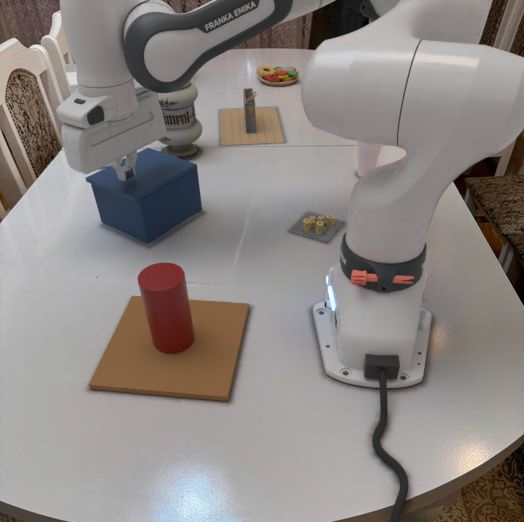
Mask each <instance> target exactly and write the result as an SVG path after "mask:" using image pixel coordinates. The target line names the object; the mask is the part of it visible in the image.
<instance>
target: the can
mask: <svg viewBox="0 0 524 522" xmlns="http://www.w3.org/2000/svg"><path fill="white" fill-rule="evenodd" d="M137 284H138V289H139V293H140V296H142V300H143V304H144V308H145V312H146V317H147V321H148V325H149V329H150V333H151V337H152V341H153V345H154V347H155V348H156V349H157V350H159V351H160V352H163V353H167V354H175V353H180V352H182V351H185V350H186V349H188V348H189V347H190V346H191V345H192V344H193V342H194V339H195V335H194V329H193V322H192V316H191V310H190V304H189V300H190V298H189V294H188V287H187V280H186V274H185V270H184V268H182V267H181V266H180V265H178V264H176V263H174V262H166V261H165V262H157V263H153V264H151V265H148V266H146V267H144V268H143V269H141V270H140V272H139V274H138V275H137Z"/></svg>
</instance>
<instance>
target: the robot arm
mask: <svg viewBox="0 0 524 522" xmlns="http://www.w3.org/2000/svg"><path fill="white" fill-rule="evenodd" d="M335 1H336V0H211V1H208V2H207V3H204V4H203V5H201V6H199V7H197V8H194V9H192V10H191V11H188V12H187V11H186V12H183V13H176V11H175V10H174V9H173V7H171V5H169V4H168V3H167V2H165V1H163V0H59V10H60V16H61V17H60V18H61V23H62V27H63V33H64V36H65V40H66V44H67V48H68V51H69V54H70V56H71V58H72V59H73V62H74V64H75V65H76V72H77V75H76V78H77V83H78V88H77V89H76V90H75V91H74V92H73V93H71V95H69V96H68V97H67V98H66V99H65V100H64V101H63V102H62V103H60V104H59V106H57V108H56V115H57V118H58V120H59V121H61V122H63V124H62V127H61V131H60V136H61V142H62V145H63V149H64V150H63V151H64V154H65V158H66V161H67V163H68V166H69V167H70V168H71V169H72V170H73V171H75V172H77V173H79V174H83V175H89V174H91V173H93V172H95V171H97V170H99V169H102V168H101V167H103V166H105V165H107V164H110V165H111V166H112V167H113V168H114V169H115V170H116V172H117V176H118V179H119V180H121V181H125V180H127V179H129V178H131V177H133V176H135V175H136V172H135V167H134V166H135V164H136V160H137V153H138V150H140V149H142V148H144V147H147V146H148V145H151V144H152V143H155V142H156V141H158V140H159V139H161V138H163V137H164V136H165V132H166V126H165V121H164V117H163V113H162V110H161V107H160V104H159V102H158V96H157V93H171V92H174V91H177V90H179V89H180V88H182V87H183V86H184V85H186V84H187V83H188V82H189V81H191V80H192V78H194V76H195V75H196V74H197V73H198V71H199V70H200V69H201V68H202V67H203V66H205V65H206V64H207V63H208V62H210V61H212V60H213V59H215V58H217V57H218V56H220V55H222V54H224V53H226V52H228V51H230V50H232V49H234V48H235V47H238V46H239V45H242V44H244V43H246V42H248V41H249V40H251V39H253V38H255V37H257V36H260V35H261V34H263V33H264V32H266V31H267V30H269V29H272V28H274V27H277V26H279V25H282V24H284V23H286V22H289V21H293V20H294V19H297V18H300V17H302V16H305V15H307V14H308V15H309V14H310V13H312V12H315V11H316V10H319V9H321V8H323V7H326V6H327V5H329V4H331V3H333V2H335ZM492 4H493V0H363V1H362V2H361V4H360V6H359V12H360V14H361V16H363V17H365V18H368V19H369V22H370V23H368V24H366V25H364V26H362V27H361V28H358V29H357V30H354V31H351V32H349V33H346V34H343V35H340V36H337V37H332V38H328V39H324V40H323V41H322V42H321V43H320V44H319V45H318V46H317V47H316V49H315V50H314V51H313V52H312V53H311V55H310V57H309V58H308V60H307V63H306V65H305V66H304V67H305V68H304V70H303V74H302V77H301V83H300V96H301V97H300V98H301V103H302V108H303V111H304V114H305V116H306V118H307V120H308V122H309V123H310V124H311V126H312V127H313V128H315V129H318V130H321V131H323V132H326V133H328V134H330V135H334V136H336V137H339V138H342V139H344V140H348V141H353V142H354V141H355V142H357V141H361V142H368V143H375V144H382V146H388V147H389V146H391V147H396V148H400V149H403V150H404V152H405V155H404V156H403V157H401V158H399V159H397V160H395V161H392V162H389V163H387V164H383V165H380V166H376V168H375V169H373V170H371V171H369V172H367V173H366V174H364V175H363V176H362V177H359V179H357V181H356V182H355V184H354V185H353V187H352V189H351V192H350V194H349V195H350V196H349V204H348V212H347V222H346V230H345V232H344V233H343V236H342V239H341V242H340V249H339V253H340V254H339V260H338V261H337V262H336V263H335V264H333V265H332V266H331V267H330V268H329V269H328V275H326V280H325V281H326V291H325V299H324V300H322V301H321V300H320V301H319V302H316V303H315V304H314V305H313V308H312V316H313V322H314V325H315V330H316V331H315V332H316V336H317V341H318V346H319V349H320V354H321V355H320V356H321V360H322V363H323V368H324V371H325V374H326V375H327V376H329V377H330V378H332V379H335V380H337V381H340V382H343V383H344V384H350V385H353V386H359V387H364V388H365V387H367V388H374V389H375V388H377V389H379V403H380V404H379V408H380V409H379V410H380V411H379V420H378V423H377V426H376V427H375V430H374V431H373V434H372V438H371V441H372V448H373V450H374V452H375V453H376V454H377V456H378V457H379V458H380V459H381V460H382V461H384V462H385V463H386V464H387V465H389V467H391V468H392V469H393V470H394V472H396V474H397V477H398V480H399V490H398V492H397V493H398V494H397V495H396V498H395V501H394V503H393V508H392V511H391V515H390V520H389V521H390V522H400V519H401V515H402V512H403V508H404V506H405V503H406V500H407V497H408V492H409V479H408V475H407V472H406V470H405V469H404V467H403V466H402V464H401V463H400V462H398V460H397V459H395V458H394V457H392V456H391V455H390V454H389V453H388V452H387V451H385V449H384V448H383V446H382V444H381V437H382V434H383V433H384V431H385V429H386V426H387V423H388V416H389V415H388V414H389V411H388V410H389V406H388V405H389V403H388V389H400V388H406V387H411V386H414V385H417V384H419V383H421V382H422V381H423V379H424V374H425V373H424V372H425V367H426V360H427V359H426V358H427V353H428V345H429V338H430V332H431V324H432V313H431V312H430V311H429V310H427V309H426V308H424V307H422V303H429V302H430V298H431V293H430V292H429V293H428V292H425V288H426V284H427V281H428V277H429V274H428V273H427V272H426V271H425V270H424V267H425V265H426V260H427V250H428V244H427V238H428V235H429V231H430V230H429V229H430V228H431V225H432V221H433V218H434V216H435V212H436V210H437V207H438V204H439V202H440V201H441V198H442V197H443V195H444V193H445V192H446V190H447V189H448V188H449V187H450V186H451V184H452V183H453V182H454V181H455V180H456V179H457V178H458V177H459V176H460V175H462V174H463V173H464V172H465V171H467V170H468V169H469V168H471V167H473V166H474V165H476V164H477V163H479V162H481V161H483V160H485V159H488V158H489V157H491V156H493V155H496V154H498V153H500V152H501V151H503V150H504V149H506V148H507V147H508V146H510V145H511V144H512V143H513V142H514V141H515V140H516V139H517V138H518V137H519V135H520V134H521V133H522V132H523V130H524V56H521V55H519V54H515V53H512V52H509V51H506V50H505V49H504V50H503V49H500V48H496V47H493V46H491V45H486V44H479V43H480V42H481V39H482V35H483V34H484V33H483V32H484V29H485V26H486V23H487V20H488V17H489V13H490V10H491V7H492ZM135 81H136V82H137V84H139V85H140V86H137V87H136V85H135ZM124 157H125V159H126V162H125V166H123V167H122V166H121V165H120V164H121V163H122V160H123V159H122V158H124ZM103 168H104V167H103Z"/></svg>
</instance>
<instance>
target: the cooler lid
mask: <svg viewBox="0 0 524 522" xmlns="http://www.w3.org/2000/svg"><path fill="white" fill-rule="evenodd" d="M125 162H126V158H123V159H122V163H121V164H120V165H121V166H122V167H123V166H125ZM134 167H135V172H136V175H135V176H133V177H131V178H129V179H127V180H125V181H121V180H119V179H118V176H117V172H116V170H115V169H114V168H113V167H112V166H108V167H104V168H103V169H101V170H98V171H96V172H95V173H92V174H90V175H88V176H87V177H86V176H85V182H86V183H89V184H90V185H91V184H93V185H96V186H98V187H101V188H103V189H105V190H108V191H110V192H113V193H115V194H118V195H120V196H122V197H125V198H127V199H130V200H132V201H134V202H136V201H138V200H140V199H142V198H144V197H145V196H147V195H149V194H151V193H153V192H155V191H156V190H158V189H160V188H162V187H164V186H165V185H167V184H169V183H171V182H173V181H174V180H176V179H178V178H180V177H182V176H183V175H185V174H187V173H189V172H191V171H192V170H194V169H196V168H197V169H198V164H197V163H195V162H193V161H192V162H191V161H189V160H183V159H180V158H177V157H174V156H171V155H168V154H166V153H163V152H161V151H160V150H156V149H154V148H152V147H151V148H150V147H147V148H144V149H142V150H141V151H137V160H136V164H135V166H134Z"/></svg>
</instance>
